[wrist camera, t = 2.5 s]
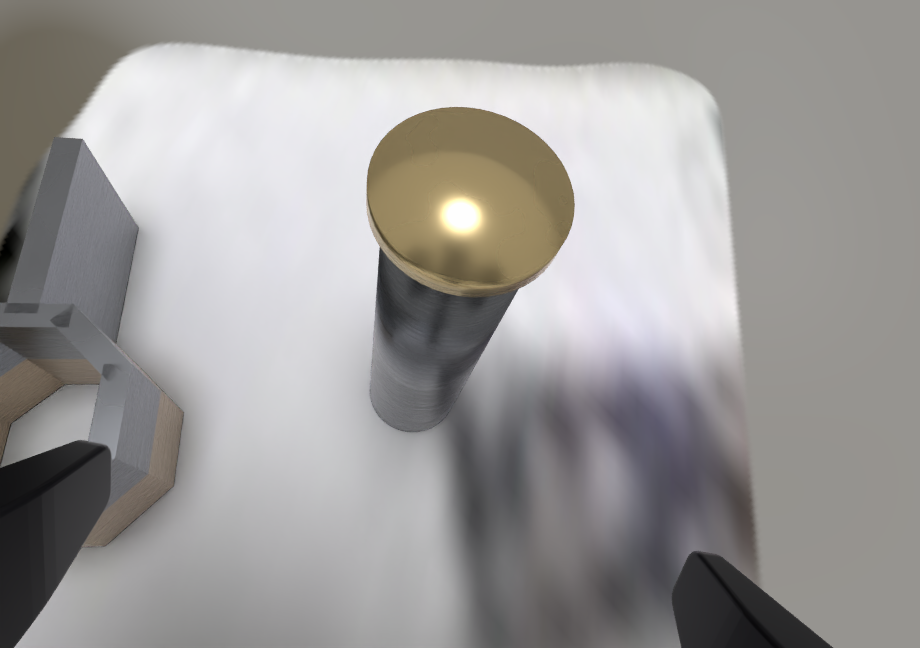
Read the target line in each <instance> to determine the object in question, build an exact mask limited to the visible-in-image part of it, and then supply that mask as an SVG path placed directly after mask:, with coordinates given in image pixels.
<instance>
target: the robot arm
mask: <svg viewBox="0 0 920 648" xmlns="http://www.w3.org/2000/svg"><path fill="white" fill-rule="evenodd" d="M111 457H112V456H111V450H110V448H109V447H108V446H107V445H105V444H101V443H95V442H90V441H84V440H78V441H74V442H72V443H69V444H66V445H63V446H60V447H58V448H55V449H52V450H49V451H46V452H44V453H41V454H38V455H35V456H33V457H30V458H27V459H24V460H21V461H19V462H16V463H13V464H10V465H8V466H5V467H2V468H0V648H14V647H15V646H16V644H17V643H18V642H19V640H20V639H21V638H22V636H23V635H24V634H25V632H26V631H27V630H28V628H29V627H30V626H31V624H32V623H33V622H34V620H35V619H36V618H37V616H38V615H39V614H40V612H41V611H42V609H43V608H44V607H45V605H46V604H47V602H48V601H49V599H50V598H51V596H52V594H53V593H54V591H55V590H56V588H57V587H58V585H59V583H60V582H61V580H62V578H63V577H64V575H65V574H66V572H67V570H68V569H69V567H70V565H71V564H72V562H73V560H74V559H75V557H76V556H77V554H78V552H79V551H80V549H81V547H82V546H83V544H84V542H85V541H86V539H87V538H88V536H89V534H90V533H91V531H92V529H93V528H94V526H95V524H96V523H97V521H98V519H99V518H100V516H101V515H102V513H103V511H104V510H105V508H106V506H107V504H108V501H109V498H110V494H111ZM672 606H673V611H674V615H675V620H676V625H677V629H678V634H679V639H680V643H681V648H833V647H832V646H830V645H829V644H828V643H827V642H825V641H824V640H823V639H822V638H821V637H819V636H818V635H817V634H816V633H814V632H813V631H812V630H811V629H810V628H808V627H807V626H806V625H805V624H803V623H802V622H801V621H800V620H798V619H797V618H796V617H794V615H792V614H791V613H790V612H789V611H787V610H786V609H785V608H784V607H782V606H781V605H780V604H779V603H778V602H776V601H775V600H774V599H773V598H772V597H770V596H769V595H768V594H767V593H765V592H764V591H763V590H762V589H761V588H759V587H758V586H757V585H756V584H754V583H753V582H752V581H751V580H750V579H748V578H747V577H746V576H745V575H743V574H742V573H741V572H740V571H739V570H737V569H736V568H735V567H734V566H732V565H731V564H730V563H729V562H727V561H726V560H725V559H724V558H723V557H721V556H719V555H717V554H712V553H707V552H701V551H694V552H692V553H691V554H690V555H689V556H688V558H687V560H686V562H685V564H684V566H683V569H682V571H681V573H680V575H679V577H678V579H677V582H676V584H675V586H674V589H673V593H672Z"/></svg>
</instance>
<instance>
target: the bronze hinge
mask: <svg viewBox="0 0 920 648" xmlns="http://www.w3.org/2000/svg"><path fill="white" fill-rule="evenodd" d="M137 232H138V226H137V224H136V223H135V221H134V220H133V218H132V216H131V215H130V213H129V212H128V210H127V209H126V207H125V205H124V204H123V202H122V201H121V199H120V197H119V196H118V194H117V193H116V191H115V190H114V188H113V186H112V185H111V183H110V182H109V180H108V178H107V177H106V175H105V174H104V172H103V170H102V169H101V167H100V166H99V164H98V163H97V161H96V159H95V158H94V156H93V155H92V153H91V151H90V150H89V148H88V147H87V145H86V143H85V142H84V140H83V139H75V138H59V137H54V140H53V143H52V147H51V150H50V154H49V157H48V161H47V164H46V168H45V171H44V175H43V178H42V182H41V185H40V189H39V192H38V196H37V199H36V203H35V206H34V210H33V213H32V217H31V220H30V224H29V227H28V231H27V234H26V238H25V241H24V244H23V248H22V251H21V255H20V258H19V262H18V265H17V269H16V272H15V276H14V279H13V283H12V286H11V290H10V293H9V297H8V300H7V303H0V462H1V458H2V455H3V451H4V447H5V443H6V439H7V435H8V431H9V428H10V424H11V423H12V422H13V421H15V420H16V419H17V418H19V417H20V416H22V415H23V414H24V413H26V412H27V411H28V410H30V409H31V408H33V407H34V406H35V405H37V404H38V403H39V402H41V401H42V400H44V399H45V398H46V397H48V396H49V395H50V394H52V393H53V392H55V391H56V390H57V389H59V388H60V387H61V386H63V385H64V384H99V389H98V394H97V399H96V404H95V409H94V414H93V419H92V424H91V429H90V434H89V439H88V441H90V442H95V443H101V444H105V445H107V446H108V447H109V448H110V450H111V456H112V457H111V494H110V498H109V501H108V504H107V506H106V508H105V510H104V511H103V513H102V515H101V516H100V518H99V519H98V521H97V523H96V524H95V526H94V528H93V529H92V531H91V533H90V534H89V536H88V538H87V539H86V541H85V542H84V544H83V546H82V547H95V546H106V545H107V544H108V543H109V542H110V541H111V540H113V539H114V538H115V537H116V536H117V535H118V534H119V533H121V532H122V531H123V530H124V529H125V528H126V527H127V526H129V525H130V524H131V523H132V522H133V521H134V520H135V519H137V518H138V517H139V516H140V515H141V514H142V513H143V512H145V511H146V510H147V509H148V508H149V507H150V506H151V505H152V504H154V503H155V502H156V501H157V500H158V499H159V498H160V497H162V496H163V495H164V494H165V493H166V492H167V491H168V490H170V489H171V488H172V487H173V486H174V478H175V471H176V464H177V457H178V449H179V442H180V435H181V428H182V421H183V413H184V412H183V411H182V410H181V409H180V408H179V407H178V406H177V405H176V404H175V403H174V402H173V401H172V400H171V399H170V398H169V397H168V396H167V395H166V394H165V393H164V392H163V391H162V390H161V389H160V388H159V387H158V386H157V385H156V384H155V383H154V382H153V380H152V379H151V378H150V377H149V376H148V375H147V374H146V373H145V372H144V371H143V370H142V369H141V368H140V367H139V366H138V365H137V364H136V363H135V362H134V361H133V360H132V359H131V358H130V357H129V356H128V355H127V354H126V353H125V352H124V351H123V350H122V349H120V348H119V347H118V346H117V345H116V339H117V334H118V329H119V324H120V319H121V314H122V309H123V304H124V298H125V293H126V288H127V283H128V278H129V273H130V268H131V263H132V258H133V253H134V248H135V242H136V237H137Z"/></svg>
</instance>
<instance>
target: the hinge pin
mask: <svg viewBox="0 0 920 648" xmlns="http://www.w3.org/2000/svg"><path fill="white" fill-rule="evenodd" d="M366 205H367V215H368V220H369V224H370V227H371V230H372V232H373V235H374V237H375V239H376V241H377V242H378V244H379V246H380V251H379V265H378V280H377V294H376V309H375V323H374V337H373V352H372V366H371V381H370V397H371V402H372V405H373V407H374V409H375V411H376V412H377V414H378V415H379V417H380V418H381V419H382V420H383V421H384V422H386V423H387V424H388V425H390V426H392V427H394V428H396V429H398V430H402V431H407V432H419V431H424V430H427V429H430V428H432V427H434V426H436V425H437V424H438V423H440V422H441V421H442V420H443V419H444V418H445V417H446V416H447V414H448V413H449V411H450V409H451V407H452V406H453V404H454V402H455V400H456V399H457V397H458V395H459V393H460V392H461V390H462V388H463V386H464V384H465V383H466V381H467V379H468V377H469V376H470V374H471V372H472V370H473V369H474V367H475V365H476V363H477V361H478V360H479V358H480V356H481V354H482V353H483V351H484V349H485V347H486V346H487V344H488V342H489V340H490V338H491V337H492V335H493V333H494V331H495V330H496V328H497V326H498V324H499V323H500V321H501V319H502V317H503V315H504V314H505V312H506V310H507V308H508V307H509V305H510V303H511V301H512V300H513V298H514V296H515V294H516V292H517V291H518V289H519V288H521V287H523V286H525V285H527V284H528V283H530V282H532V281H533V280H535V279H536V278H537V277H538V276H539V275H541V274H542V273H543V272H544V271H545V270H546V268H547V267H548V266H549V265H550V264H551V262H552V261H553V259H554V258H555V256H556V254H557V253H558V251H559V250H560V248H561V246H562V245H563V243H564V241H565V240H566V238H567V236H568V234H569V231H570V229H571V226H572V222H573V217H574V205H575V204H574V193H573V189H572V185H571V182H570V179H569V177H568V174H567V172H566V170H565V168H564V166H563V164H562V162H561V161H560V159H559V158H558V157H557V155H556V154H555V153H554V151H553V150H552V149H551V148H550V147H549V146H548V145H547V144H546V143H545V142H544V141H543V140H542V139H541V138H540V137H539V136H537V135H536V134H535V133H533V132H532V131H531V130H529V129H528V128H526V127H525V126H523V125H521V124H519V123H518V122H516V121H514V120H512V119H509V118H507V117H505V116H502V115H499V114H496V113H493V112H490V111H485V110H481V109H475V108H467V107H449V108H439V109H434V110H429V111H426V112H423V113H419V114H417V115H415V116H412V117H410V118H408V119H406V120H405V121H403V122H401V123H400V124H398V125H397V126H396V127H394V128H393V129H392V130H391V131H389V132H388V134H387V135H386V136H385V137H384V138H383V139H382V140H381V142H380V143H379V145H378V146H377V148H376V149H375V151H374V154H373V156H372V158H371V161H370V165H369V168H368V175H367V197H366Z"/></svg>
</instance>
